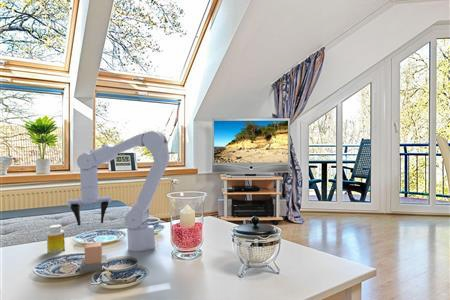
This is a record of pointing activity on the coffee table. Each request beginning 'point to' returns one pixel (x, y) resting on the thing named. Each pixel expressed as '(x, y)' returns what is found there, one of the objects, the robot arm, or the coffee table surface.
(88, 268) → the gray slab
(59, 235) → the supplement bottle
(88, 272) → the walnut slab
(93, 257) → the terracotta block
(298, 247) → the coffee table surface
